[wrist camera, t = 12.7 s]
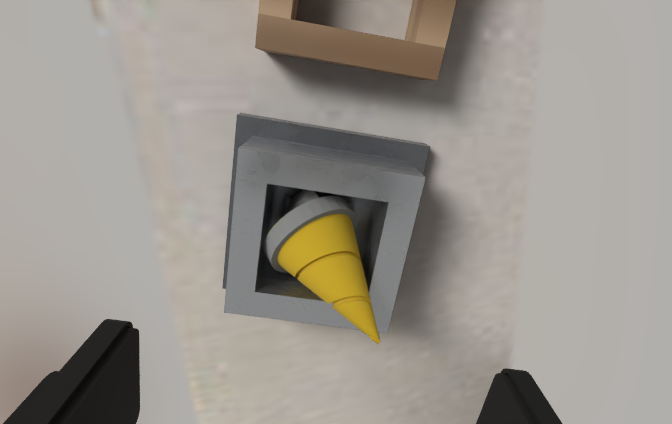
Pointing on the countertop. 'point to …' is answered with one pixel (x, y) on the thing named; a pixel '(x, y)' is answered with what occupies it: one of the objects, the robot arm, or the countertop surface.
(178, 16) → the countertop surface
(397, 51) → the socket block
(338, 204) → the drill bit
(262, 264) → the grey hollow square block
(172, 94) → the countertop surface
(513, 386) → the robot arm
